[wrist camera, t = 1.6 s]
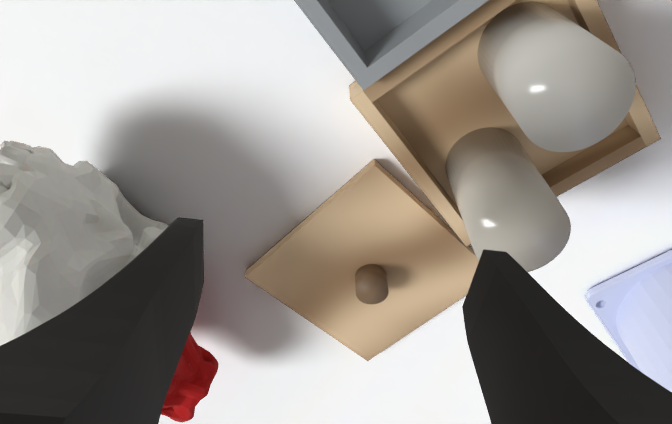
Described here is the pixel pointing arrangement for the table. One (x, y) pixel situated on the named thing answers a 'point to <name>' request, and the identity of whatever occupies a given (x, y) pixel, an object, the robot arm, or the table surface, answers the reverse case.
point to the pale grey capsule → (555, 77)
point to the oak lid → (368, 264)
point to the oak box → (481, 110)
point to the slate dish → (382, 30)
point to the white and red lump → (74, 252)
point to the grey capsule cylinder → (505, 199)
